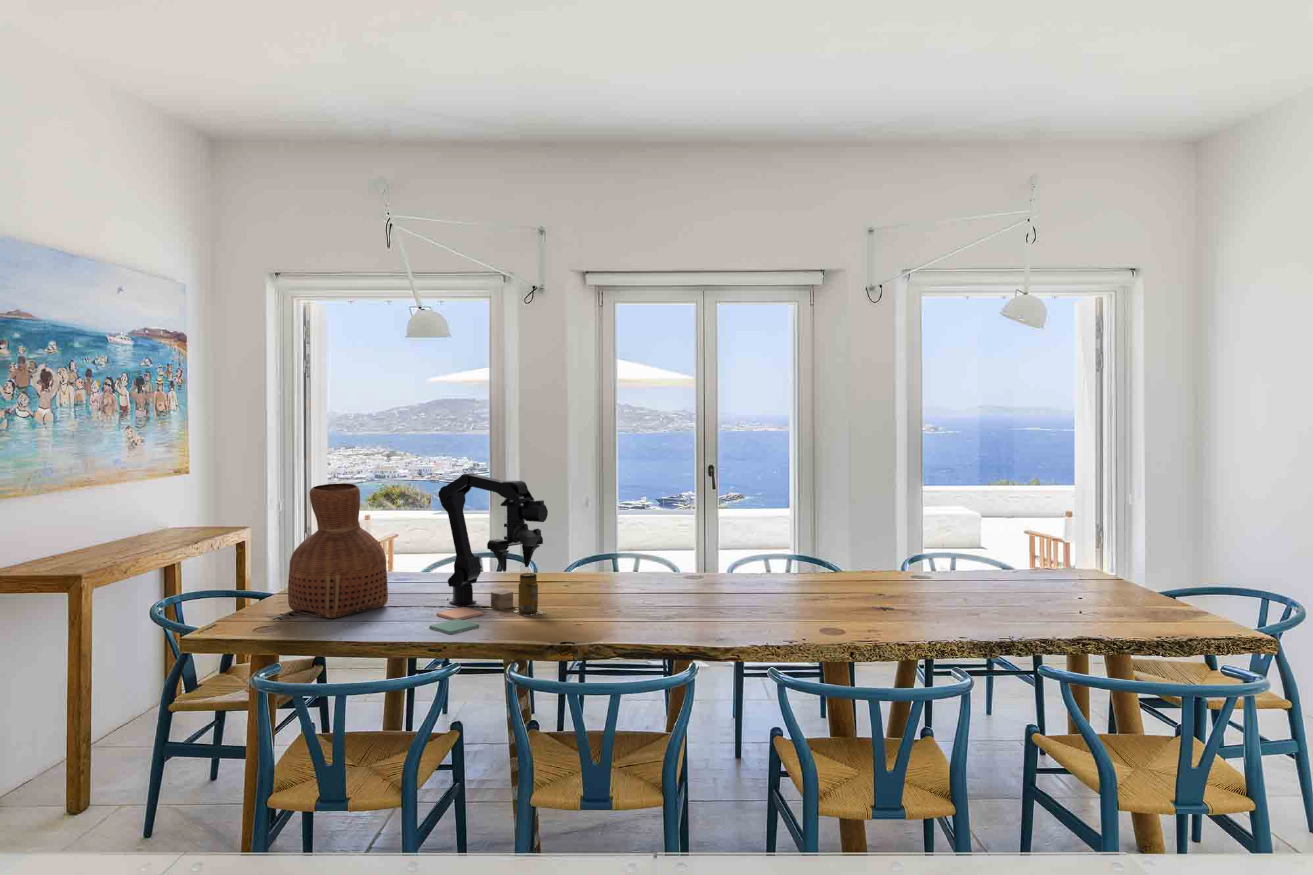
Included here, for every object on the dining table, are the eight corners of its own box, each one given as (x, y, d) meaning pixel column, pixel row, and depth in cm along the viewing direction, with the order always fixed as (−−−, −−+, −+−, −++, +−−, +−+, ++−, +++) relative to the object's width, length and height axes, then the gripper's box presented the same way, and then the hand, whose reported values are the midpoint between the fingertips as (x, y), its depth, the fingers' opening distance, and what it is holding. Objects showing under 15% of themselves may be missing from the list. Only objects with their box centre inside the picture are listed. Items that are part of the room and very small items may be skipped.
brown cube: (490, 607, 247) (490, 592, 247) (503, 604, 251) (503, 589, 251) (500, 610, 244) (500, 594, 244) (513, 607, 248) (513, 591, 247)
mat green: (429, 628, 221) (429, 625, 221) (458, 621, 229) (458, 618, 229) (450, 634, 215) (450, 631, 215) (479, 627, 223) (479, 624, 223)
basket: (271, 613, 238) (270, 485, 238) (344, 595, 263) (343, 480, 262) (333, 624, 225) (332, 489, 225) (403, 605, 250) (403, 483, 249)
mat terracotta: (436, 615, 236) (436, 612, 236) (463, 609, 244) (463, 606, 244) (456, 620, 230) (456, 618, 230) (482, 614, 238) (482, 611, 238)
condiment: (532, 608, 246) (532, 571, 246) (546, 613, 239) (546, 575, 239) (512, 611, 241) (512, 574, 241) (525, 617, 235) (525, 578, 235)
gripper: (509, 525, 231) (509, 576, 231) (554, 519, 246) (554, 568, 246) (486, 522, 238) (486, 572, 238) (531, 517, 253) (531, 563, 253)
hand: (515, 569), depth 244 cm, fingers open, 9 cm apart
